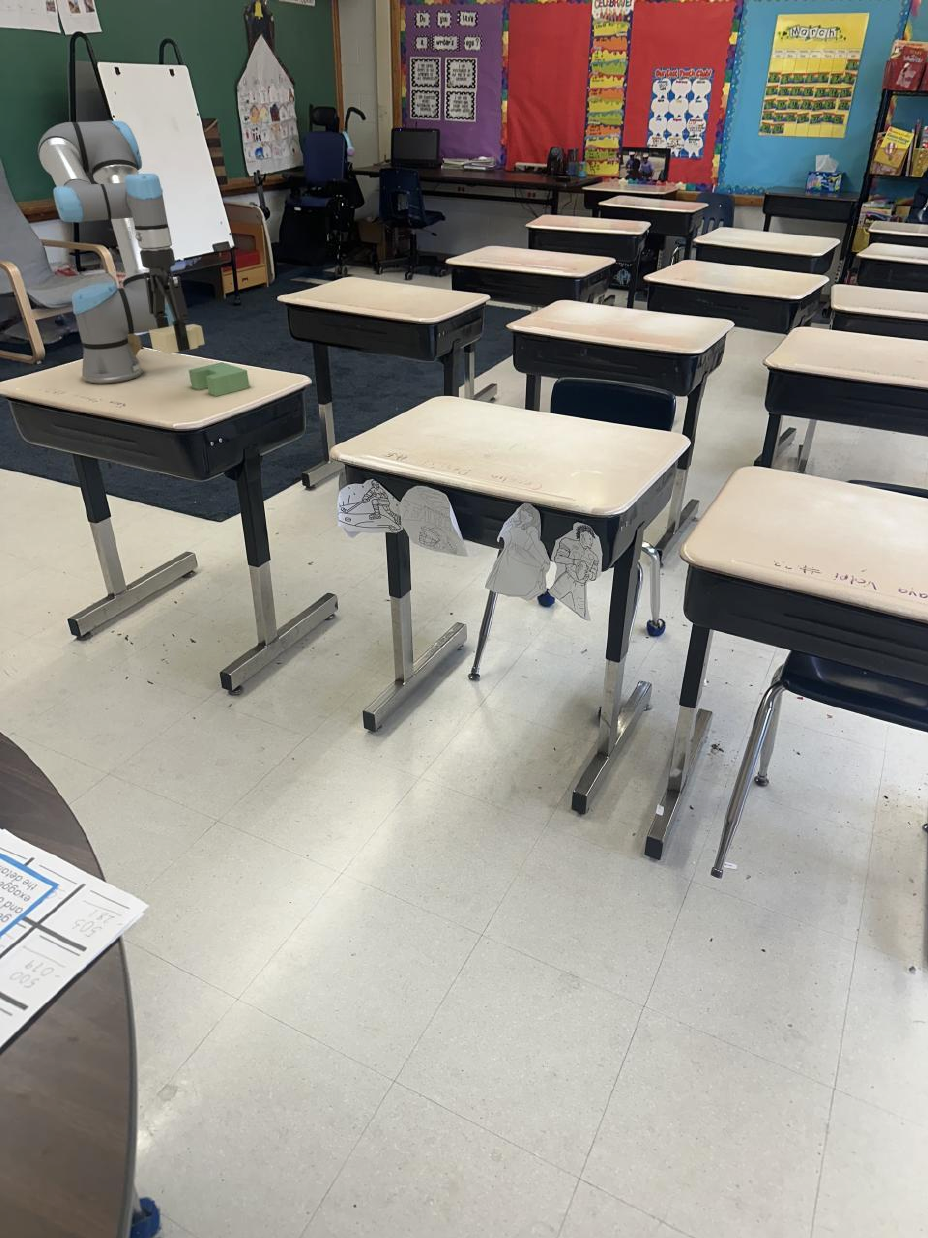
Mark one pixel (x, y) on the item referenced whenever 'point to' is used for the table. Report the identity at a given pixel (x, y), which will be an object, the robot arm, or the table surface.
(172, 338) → the cream pad
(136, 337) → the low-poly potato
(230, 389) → the green u-shaped block
